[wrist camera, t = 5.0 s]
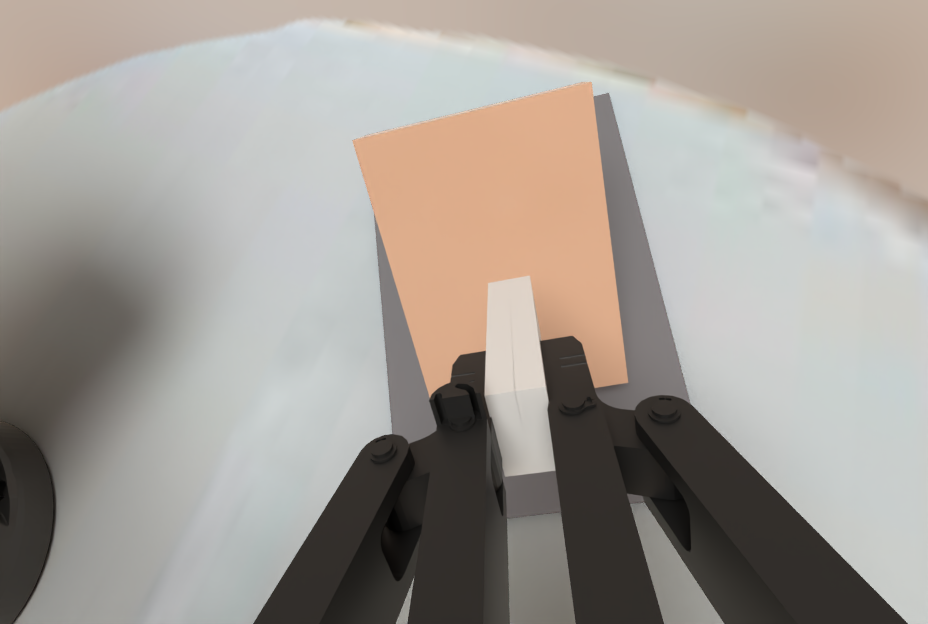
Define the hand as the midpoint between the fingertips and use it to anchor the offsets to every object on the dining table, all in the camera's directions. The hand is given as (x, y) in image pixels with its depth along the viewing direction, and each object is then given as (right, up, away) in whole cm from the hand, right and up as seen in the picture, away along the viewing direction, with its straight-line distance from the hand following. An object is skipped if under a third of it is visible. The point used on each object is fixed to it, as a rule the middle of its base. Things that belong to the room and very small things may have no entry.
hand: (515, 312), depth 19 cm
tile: (+1, -4, +9) cm, 10 cm away
